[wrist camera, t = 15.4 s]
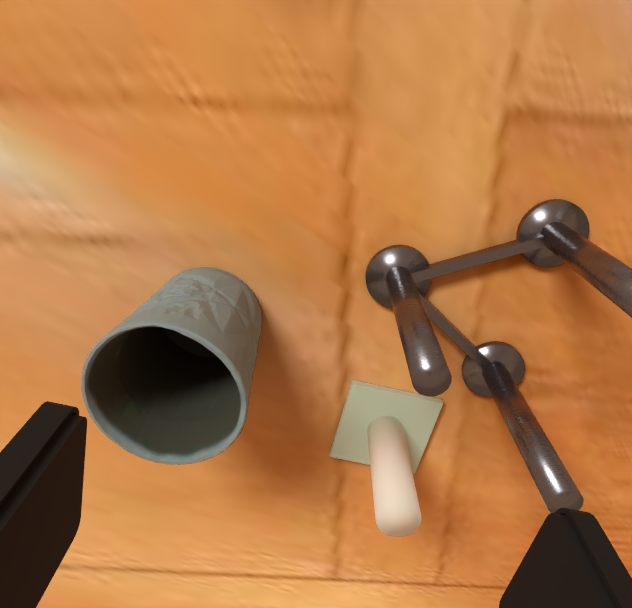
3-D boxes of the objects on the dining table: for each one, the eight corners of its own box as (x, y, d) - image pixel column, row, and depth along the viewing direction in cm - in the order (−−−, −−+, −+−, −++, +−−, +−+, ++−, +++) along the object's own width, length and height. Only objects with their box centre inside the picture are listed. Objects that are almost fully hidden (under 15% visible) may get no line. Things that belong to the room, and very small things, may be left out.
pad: (442, 399, 45) (443, 403, 45) (413, 469, 48) (414, 474, 48) (352, 379, 45) (352, 383, 44) (329, 452, 48) (329, 456, 47)
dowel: (408, 419, 45) (427, 508, 36) (397, 448, 47) (413, 540, 37) (372, 412, 45) (383, 499, 36) (362, 441, 46) (370, 532, 37)
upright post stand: (597, 208, 38) (747, 285, 24) (509, 398, 45) (587, 542, 31) (398, 158, 37) (438, 210, 23) (339, 361, 44) (343, 493, 30)
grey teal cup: (273, 368, 44) (253, 465, 33) (155, 370, 45) (98, 467, 34) (263, 254, 40) (238, 322, 29) (134, 257, 41) (61, 326, 30)
